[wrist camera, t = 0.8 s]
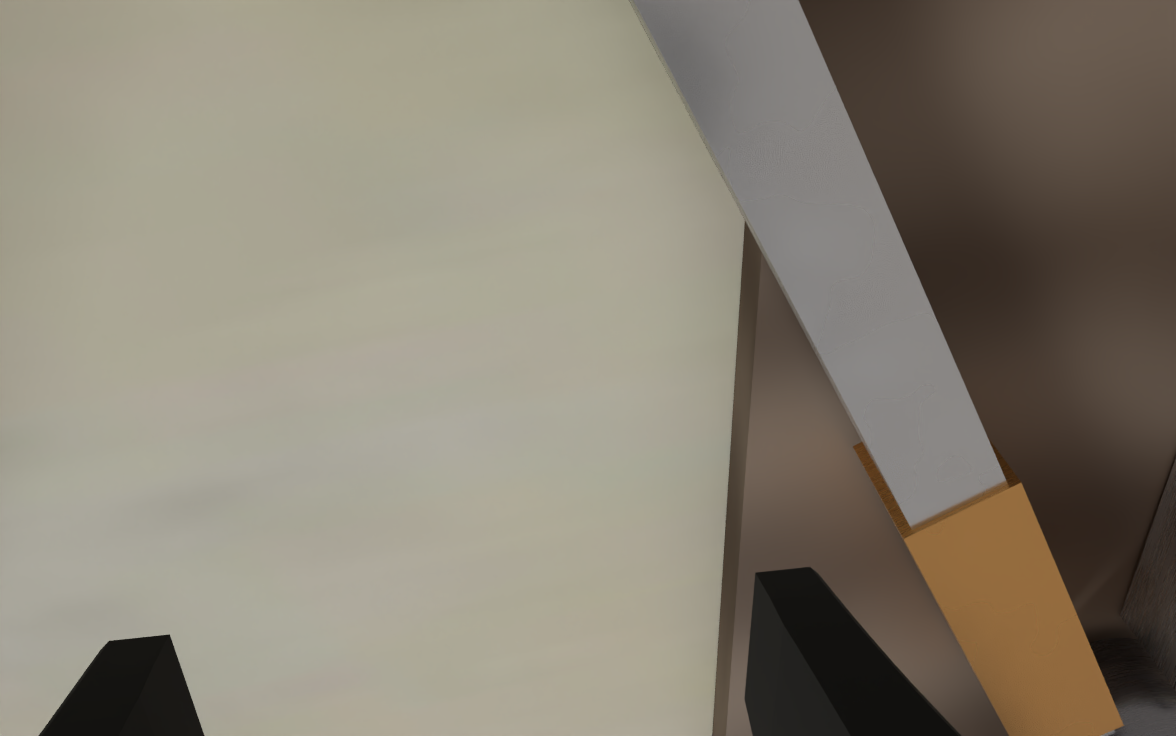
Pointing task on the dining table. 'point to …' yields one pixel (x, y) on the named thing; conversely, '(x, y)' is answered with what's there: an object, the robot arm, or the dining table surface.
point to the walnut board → (980, 315)
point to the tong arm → (895, 368)
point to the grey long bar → (1157, 588)
